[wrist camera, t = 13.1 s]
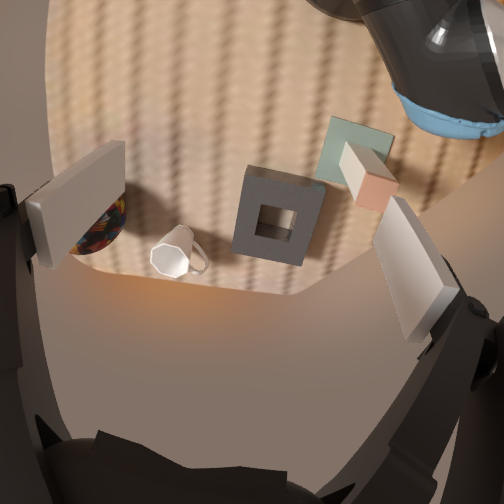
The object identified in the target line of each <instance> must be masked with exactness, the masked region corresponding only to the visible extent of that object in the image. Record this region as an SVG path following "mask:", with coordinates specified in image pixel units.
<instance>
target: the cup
mask: <svg viewBox="0 0 504 504" xmlns="http://www.w3.org/2000/svg"><path fill="white" fill-rule="evenodd" d="M193 238H194V233H193V232H192V230H191V229H190V228H189V227H188V226H184V225H181V224H179V225H178V226H176V227H174V228H173V229H172V231H170V232H169V233H167V234H166V235H165V236H164V237H163V238H162V239H161V240H160V241H159V242H158V243H157V244H156V245H155V246H154V247H153V248H152V249H151V261H150V262H151V263H152V265H153V266H154V267H155V268H156V269H157V270H158V272H159V273H160V274H163V275H166V276H170V277H173V278H177V277H179V276H181V275H183V274H186V273H188V271H189V272H191V273H193V274H195V275H201V274H203V273H204V272H205V271H206V269H207V268H208V266H209V259H208V257H207V255H206V254H205V252H204V251H203V249H202V248H201V247H200V245H199V244H198V243H197V242H196V241H194V240H193ZM193 245H194V246H195V247H196V249H197V250H198V251H199V253H200V254H201V255H202V257H203V259H204V261H205V265H206V267H205V269H204V270H201V271H197V270H195V269H194V268H193V267H192V266H191V265H190V264H189V262H190V257H191V252H192V246H193Z"/></svg>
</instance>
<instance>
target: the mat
mask: <svg viewBox="0 0 504 504" xmlns="http://www.w3.org/2000/svg"><path fill="white" fill-rule="evenodd" d="M393 137H394V136H393V135H390V134H388V133H385V132H382V131H379V130H376V129H373V128H370V127H366V126H363V125H360V124H357V123H353V122H350V121H347V120H343V119H340V118H336V117H333V116H331V120H330V124H329V127H328V131H327V135H326V139H325V142H324V146H323V149H322V153H321V157H320V160H319V164H318V167H317V171H316V174H315V178H319V179H323V180H327V181H331V182H335V183H339V184H343V185H347V186H348V184H347V182H346V180H345V177H344V175H343V173H342V171H341V168H340V166H339V162H340V159H341V156H342V153H343V149H344V146H345V142H346V141H349V142H352V143H355V144H359V145H362V146H365V147H369V148H371V149H372V150H373V152H374V153H375V154H376V155H377V156H378V158H379V159H380V160H381V161H382V162H383V164H384V163H385V160H386V158H387V155H388V152H389V149H390V146H391V143H392V140H393Z"/></svg>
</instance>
